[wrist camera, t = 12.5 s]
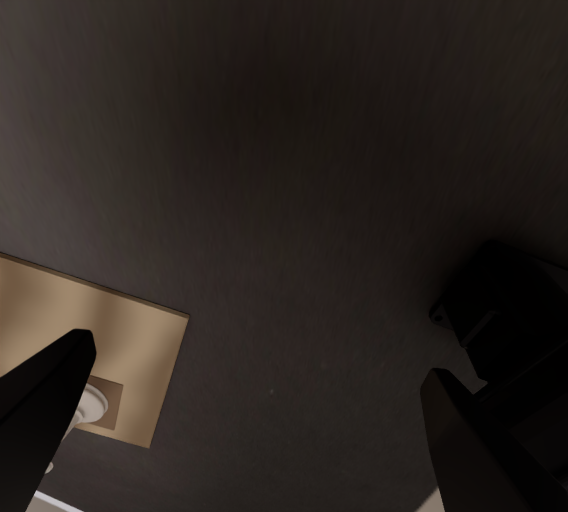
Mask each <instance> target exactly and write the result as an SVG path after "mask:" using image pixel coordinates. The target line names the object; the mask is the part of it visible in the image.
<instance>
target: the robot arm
mask: <svg viewBox="0 0 568 512" xmlns="http://www.w3.org/2000/svg"><path fill="white" fill-rule="evenodd" d="M494 247H496V248H495V249H494V250H493V251H489V250H490V249H491V248H494ZM438 315H440V316H439V317H436V316H438ZM429 317H430V320H431V322H432V323H434V324H437V325H439V326H442V327H445V328H448V329H451V330H453V331H454V332H455V334H456V337H457V339H458V341H459V343H460V346H461V347H463V348H465V350H466V352H467V354H468V356H469V358H470V361H471V363H472V365H473V367H474V369H475V372H476V374H477V376H478V378H480V379H482V380H485V381H487V382H488V384H487V385H486V386H484V387H483V388H482V389H480V390H479V391H478V392H476V393H475V394H474V395H473V394H472V393H471V392H470V391H469V390H468V389H467V388H466V387H465V386H464V385H463V384H462V383H461V382H460V381H459V380H458V379H457V378H456V377H455V376H454V375H453V374H452V373H451V372H450V371H449V370H447V369H441V368H432V369H431V370H430V371H429V373H428V375H427V377H426V378H425V380H424V382H423V384H422V386H421V390H420V395H421V402H422V409H423V415H424V421H425V428H426V434H427V441H428V446H429V452H430V456H431V460H432V464H433V468H434V472H435V475H436V479H437V483H438V487H439V491H440V494H441V498H442V502H443V506H444V510H445V512H568V269H567V268H564V267H562V266H559V265H557V264H554V263H552V262H549V261H546V260H544V259H541V258H539V257H536V256H534V255H531V254H529V253H526V252H524V251H521V250H519V249H516V248H514V247H511V246H509V245H506V244H503V243H501V242H498V241H495V240H490V241H488V242H486V243H485V244H483V246H482V247H481V248H480V249H479V251H478V252H477V253H476V255H475V256H474V257H473V258H472V260H471V261H470V262H469V263H468V265H467V266H466V267H465V268H464V269H462V271H461V272H460V273H459V274H458V276H457V277H456V278H455V279H454V281H453V282H452V283H451V285H450V286H449V287H448V288H447V290H446V291H445V292H444V293H443V295H442V296H441V297H440V300H439V301H438V303H437V304H436V305H435V306H434V308H433V309H432V310H431V311H430V313H429ZM96 355H97V351H96V346H95V341H94V337H93V333H92V331H91V330H88V329H79V328H75V329H72V330H70V331H69V332H67V333H66V334H64V335H63V336H61V337H60V338H58V339H57V340H55V341H54V342H52V343H51V344H49V345H48V346H46V347H45V348H43V349H42V350H40V351H39V352H37V353H36V354H34V355H33V356H31V357H30V358H28V359H27V360H25V361H24V362H22V363H21V364H19V365H18V366H16V367H15V368H13V369H12V370H10V371H9V372H7V373H6V374H4V375H3V376H1V377H0V512H25V511H26V509H27V507H28V505H29V503H30V502H31V499H32V497H33V496H34V494H35V492H36V490H37V488H38V486H39V484H40V482H41V480H42V478H43V476H44V474H45V472H46V470H47V468H48V466H49V464H50V462H51V460H52V459H53V457H54V455H55V453H56V451H57V449H58V447H59V445H60V443H61V441H62V439H63V437H64V435H65V433H66V431H67V429H68V427H69V425H70V423H71V421H72V419H73V417H74V414H75V412H76V410H77V407H78V404H79V402H80V399H81V397H82V394H83V391H84V389H85V386H86V384H87V381H88V378H89V376H90V373H91V370H92V368H93V365H94V363H95V360H96Z"/></svg>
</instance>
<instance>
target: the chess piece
mask: <svg viewBox="0 0 568 512" xmlns="http://www.w3.org/2000/svg"><path fill="white" fill-rule="evenodd" d="M107 409H108V401H107V399H106V397H105V396H104V394H103V393H102V392H101V391H99V390H98V389H97V388H95V387H94V386H92V385H90V384H88V383H87V384H86V386H85V389H84V391H83V394H82V397H81V399H80V402H79V404H78V407H77V410H76V412H75V414H74V417H73V419H72V421H71V423H70V425H69V427H68V429H67V431H66V433H65V435H64V437H63V439H64V438H65V437H66V435H67V434H68V433H69V432H70V430H71V429H72V428H73V427H74V426H75V424H78V423H81V422H83V423H88V422H94V421H97V420H99V419H100V418H101V417H102V416H103V414H104V413H105V412H106V411H107ZM63 439H62V440H63ZM61 442H62V441H61ZM52 468H53V464H52V462H50V464H49V466H48V468H47V470H46V472H45V473H48V472H49V471H50V470H51V469H52ZM29 504H30V503H29Z"/></svg>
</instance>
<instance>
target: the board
mask: <svg viewBox="0 0 568 512" xmlns="http://www.w3.org/2000/svg"><path fill="white" fill-rule="evenodd" d="M189 317H190V315H188V314H185V313H182V312H179V311H176V310H173V309H170V308H166V307H163V306H160V305H157V304H154V303H151V302H148V301H145V300H142V299H139V298H136V297H133V296H130V295H127V294H124V293H121V292H118V291H115V290H112V289H109V288H106V287H103V286H100V285H97V284H94V283H91V282H88V281H85V280H82V279H79V278H76V277H73V276H70V275H67V274H64V273H60V272H57V271H54V270H51V269H48V268H45V267H42V266H39V265H36V264H33V263H30V262H27V261H24V260H21V259H18V258H15V257H12V256H9V255H6V254H3V253H0V377H1V376H3V375H4V374H6V373H7V372H9V371H10V370H12V369H13V368H15V367H16V366H18V365H19V364H21V363H22V362H24V361H25V360H27V359H28V358H30V357H31V356H33V355H34V354H36V353H37V352H39V351H40V350H42V349H43V348H45V347H46V346H48V345H49V344H51V343H52V342H54V341H55V340H57V339H58V338H60V337H61V336H63V335H64V334H66V333H67V332H69V331H70V330H72V329H75V328H79V329H88V330H91V331H92V333H93V337H94V341H95V346H96V351H97V355H96V360H95V363H94V365H93V368H92V370H91V373H90V376H89V378H88V381H87V383H88V384H90V385H92V386H94V387H95V388H97V389H98V390H99V391H101V392H102V393H103V394H104V396H105V397H106V399H107V401H108V409H107V411H106V412H105V413H104V414H103V416H102V417H101V418H100V419H99V420H97V421H94V422H88V423H83V422H81V423H78V424H75V426H74V427H75V428H79V429H82V430H86V431H89V432H93V433H96V434H100V435H103V436H107V437H110V438H114V439H118V440H121V441H125V442H128V443H132V444H135V445H139V446H142V447H146V448H149V447H150V444H151V441H152V438H153V435H154V431H155V428H156V425H157V422H158V418H159V415H160V412H161V408H162V405H163V402H164V399H165V395H166V392H167V389H168V385H169V382H170V379H171V376H172V372H173V369H174V366H175V363H176V359H177V356H178V353H179V349H180V346H181V343H182V340H183V336H184V333H185V330H186V326H187V323H188V320H189Z"/></svg>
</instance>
